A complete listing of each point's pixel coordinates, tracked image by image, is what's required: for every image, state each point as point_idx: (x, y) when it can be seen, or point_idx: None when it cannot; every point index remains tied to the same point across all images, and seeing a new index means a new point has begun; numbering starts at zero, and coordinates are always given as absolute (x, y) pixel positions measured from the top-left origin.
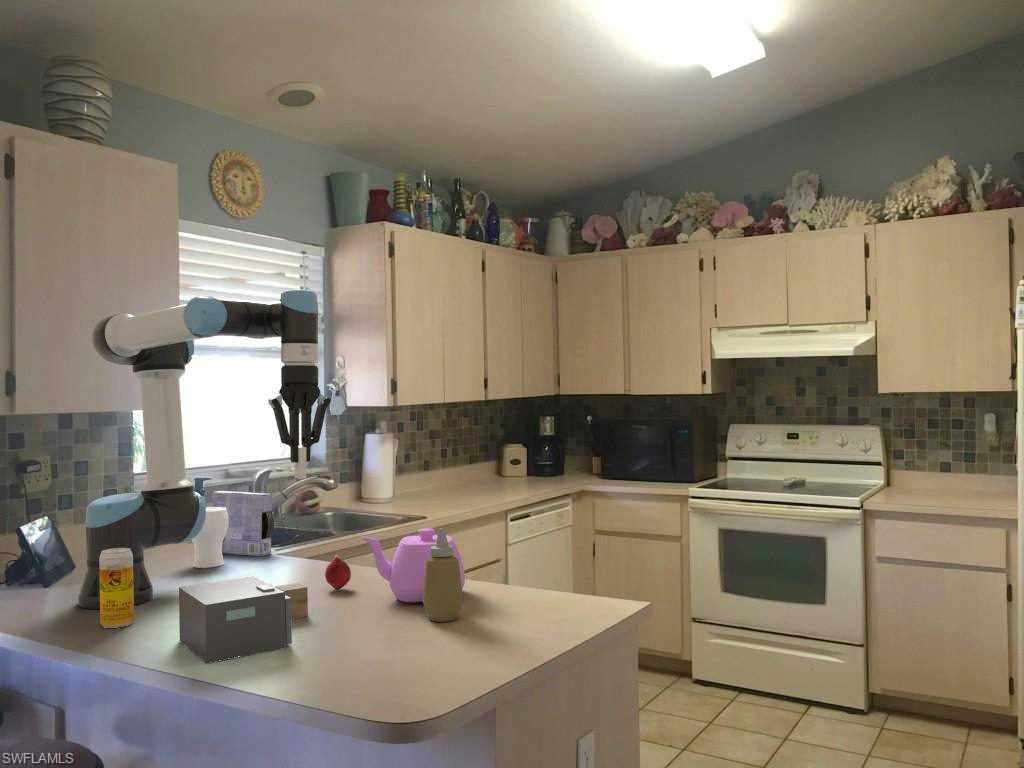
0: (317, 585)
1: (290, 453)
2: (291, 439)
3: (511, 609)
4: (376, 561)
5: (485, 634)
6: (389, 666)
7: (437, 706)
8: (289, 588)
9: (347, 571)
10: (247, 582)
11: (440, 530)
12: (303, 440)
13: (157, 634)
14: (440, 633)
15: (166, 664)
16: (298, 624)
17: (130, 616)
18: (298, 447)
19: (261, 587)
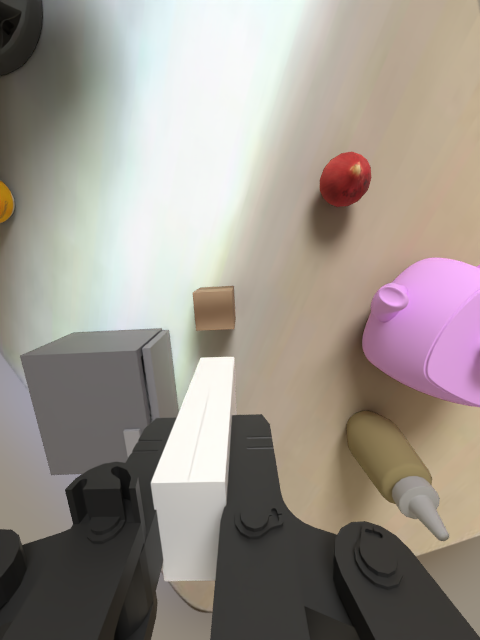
0: (322, 123)
1: (127, 460)
2: (59, 607)
3: (450, 436)
4: (376, 307)
5: (361, 494)
6: None
7: None
8: (207, 322)
9: (356, 200)
10: (119, 387)
11: (436, 536)
12: (236, 576)
13: (49, 285)
14: (327, 468)
15: None
16: (213, 347)
17: (3, 215)
18: (162, 565)
19: (128, 444)
